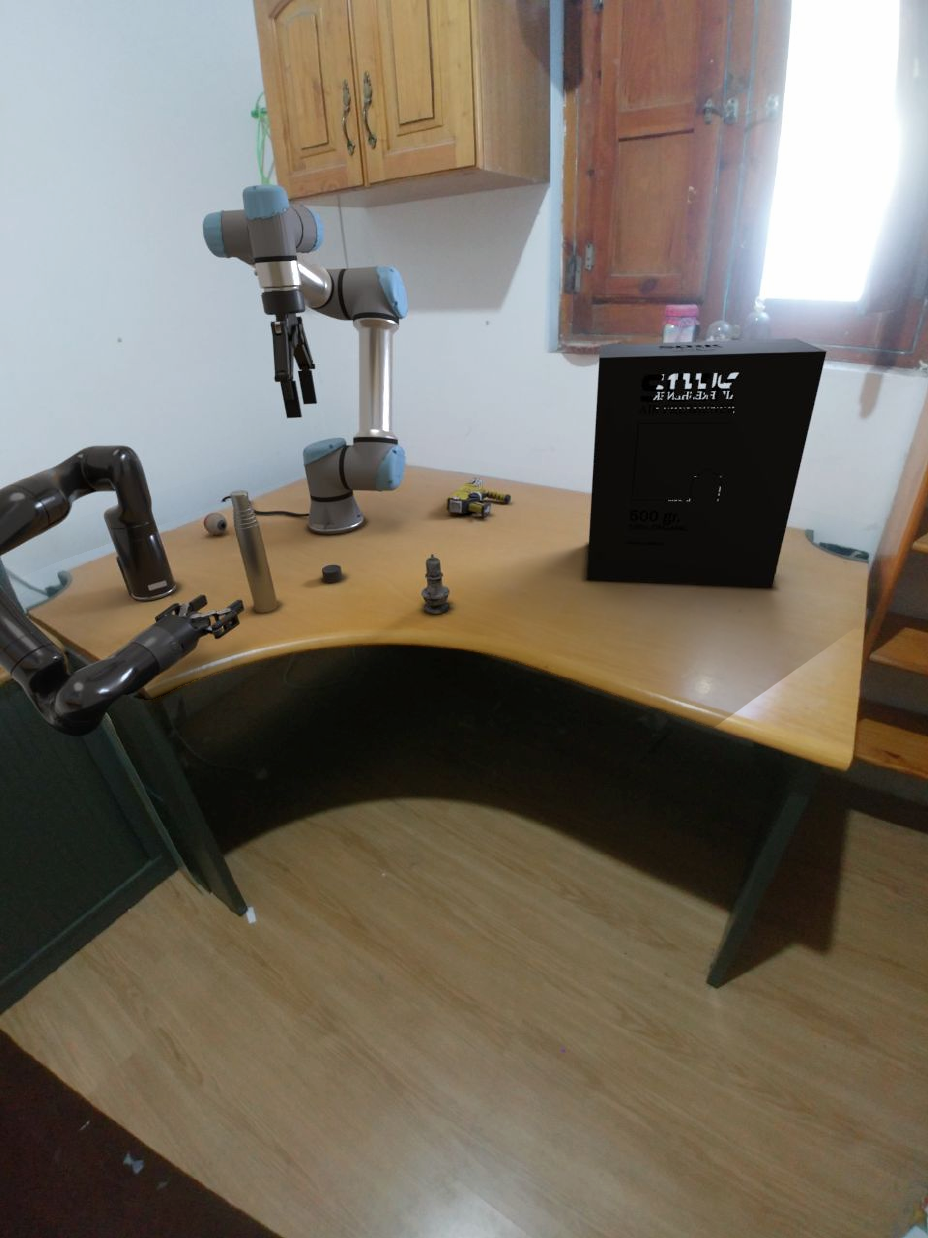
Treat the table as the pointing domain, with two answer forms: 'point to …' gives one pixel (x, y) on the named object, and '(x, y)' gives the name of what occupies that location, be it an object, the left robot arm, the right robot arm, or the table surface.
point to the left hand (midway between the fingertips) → (223, 601)
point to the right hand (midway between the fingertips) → (302, 410)
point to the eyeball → (215, 523)
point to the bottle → (253, 553)
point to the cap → (332, 573)
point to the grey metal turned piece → (435, 588)
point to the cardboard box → (698, 459)
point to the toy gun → (473, 499)
